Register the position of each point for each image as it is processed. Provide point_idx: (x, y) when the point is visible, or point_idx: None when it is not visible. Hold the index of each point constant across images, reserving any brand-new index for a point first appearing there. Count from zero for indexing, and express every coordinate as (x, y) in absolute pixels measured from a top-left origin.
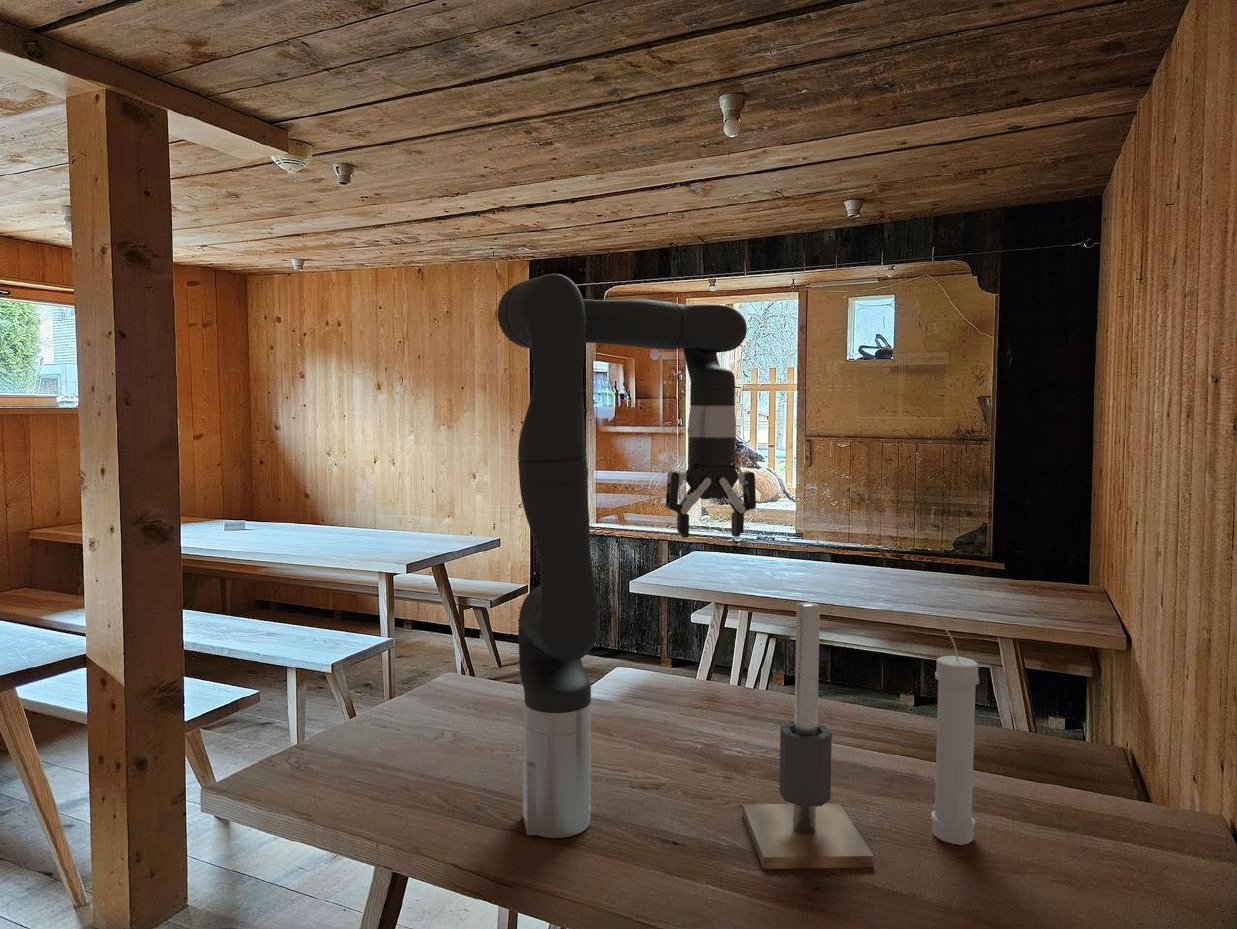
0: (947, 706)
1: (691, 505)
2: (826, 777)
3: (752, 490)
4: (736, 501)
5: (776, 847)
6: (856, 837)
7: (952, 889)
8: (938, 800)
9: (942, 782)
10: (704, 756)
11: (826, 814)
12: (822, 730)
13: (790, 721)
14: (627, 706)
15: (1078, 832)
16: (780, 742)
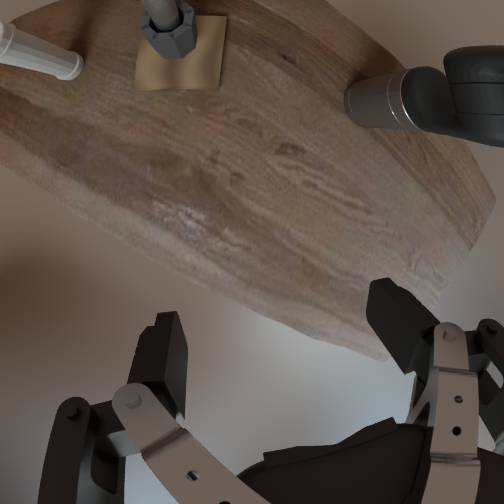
0: (26, 34)
1: (438, 361)
2: None
3: (55, 484)
4: (159, 441)
5: (212, 26)
6: (143, 39)
7: (110, 7)
8: (70, 57)
9: (62, 51)
10: (225, 207)
11: (151, 71)
12: (148, 18)
13: (174, 38)
14: (276, 319)
15: (7, 91)
16: (192, 32)
